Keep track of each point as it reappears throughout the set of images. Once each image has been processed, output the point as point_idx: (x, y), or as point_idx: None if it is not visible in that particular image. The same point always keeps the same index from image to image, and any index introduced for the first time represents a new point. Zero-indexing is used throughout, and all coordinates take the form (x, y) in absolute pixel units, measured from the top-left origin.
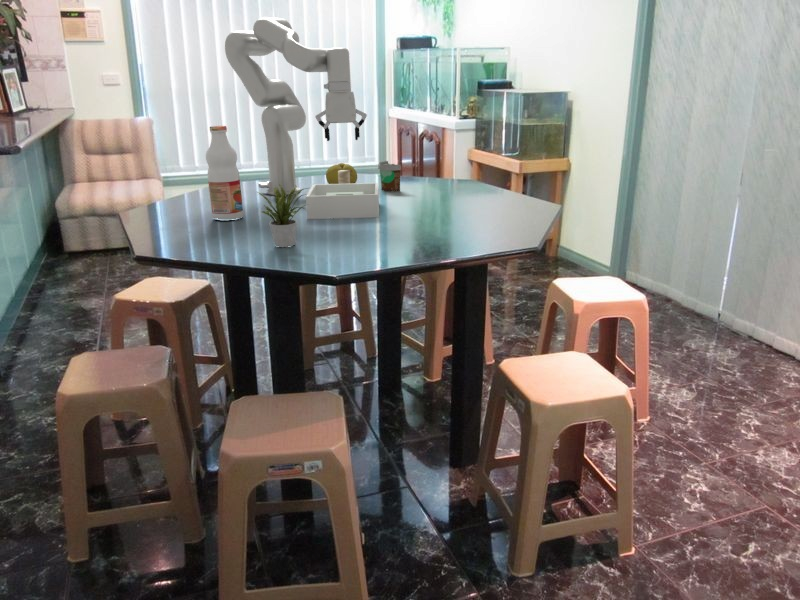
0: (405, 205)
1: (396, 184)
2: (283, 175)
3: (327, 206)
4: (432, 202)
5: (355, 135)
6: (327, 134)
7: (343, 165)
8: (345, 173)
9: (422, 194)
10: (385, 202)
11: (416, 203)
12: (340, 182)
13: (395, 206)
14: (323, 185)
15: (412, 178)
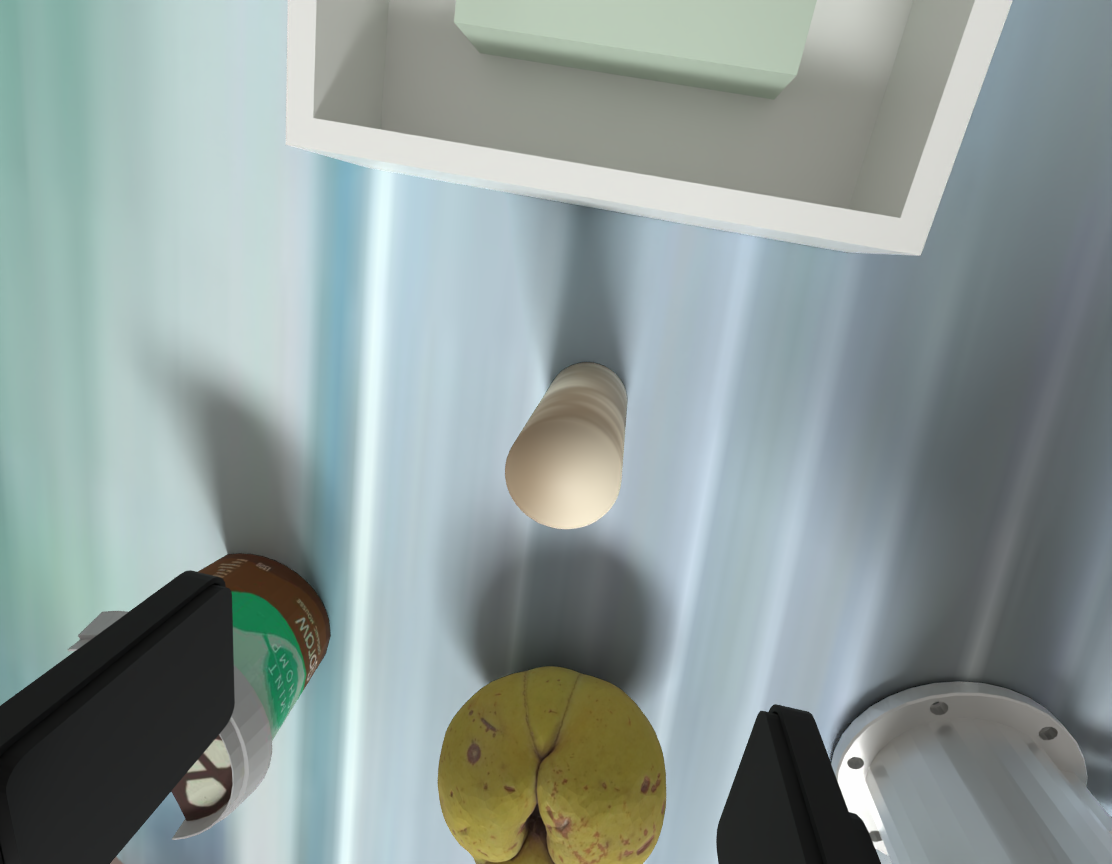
0: (193, 29)
1: (216, 573)
2: (1044, 824)
3: None
4: (20, 93)
5: (159, 633)
6: (835, 829)
7: (518, 855)
8: (554, 415)
9: (95, 402)
10: (326, 198)
11: (121, 88)
12: (611, 410)
13: (263, 8)
14: (815, 204)
15: (162, 859)
